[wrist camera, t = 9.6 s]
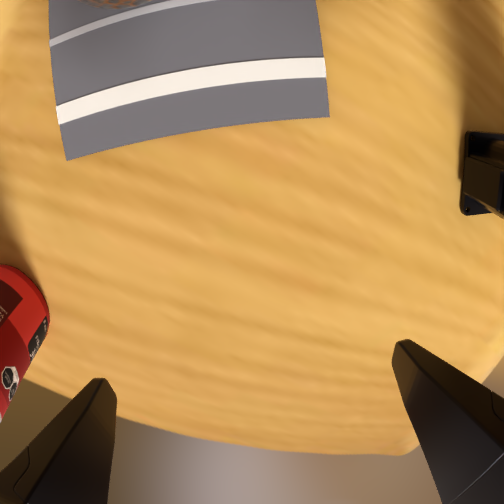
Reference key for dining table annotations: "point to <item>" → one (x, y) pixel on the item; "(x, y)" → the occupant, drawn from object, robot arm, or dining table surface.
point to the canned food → (18, 329)
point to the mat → (182, 68)
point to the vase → (114, 3)
